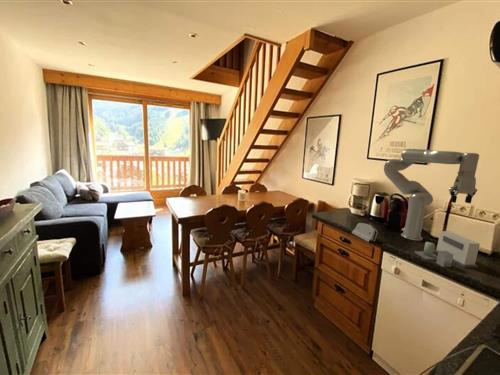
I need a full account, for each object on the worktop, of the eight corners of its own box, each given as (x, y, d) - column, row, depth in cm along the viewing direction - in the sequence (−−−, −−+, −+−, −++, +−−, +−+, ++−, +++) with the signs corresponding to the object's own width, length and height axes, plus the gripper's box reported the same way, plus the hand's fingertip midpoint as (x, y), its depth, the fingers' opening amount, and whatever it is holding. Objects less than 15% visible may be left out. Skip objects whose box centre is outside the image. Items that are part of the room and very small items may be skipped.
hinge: (351, 232, 173) (357, 219, 173) (356, 234, 175) (361, 221, 174) (368, 242, 158) (375, 227, 157) (374, 244, 159) (380, 229, 159)
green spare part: (427, 256, 139) (429, 245, 137) (421, 253, 143) (423, 241, 142) (434, 256, 139) (436, 245, 138) (428, 253, 144) (430, 241, 142)
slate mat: (414, 252, 145) (414, 251, 145) (428, 252, 146) (429, 251, 146) (426, 259, 137) (426, 258, 136) (441, 260, 137) (441, 258, 137)
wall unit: (433, 251, 149) (437, 230, 147) (445, 251, 150) (449, 230, 147) (464, 267, 129) (469, 244, 127) (477, 267, 130) (483, 244, 128)
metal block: (436, 262, 134) (438, 250, 132) (443, 262, 134) (446, 250, 133) (443, 266, 129) (445, 254, 128) (450, 267, 130) (453, 254, 128)
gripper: (458, 174, 139) (452, 203, 142) (486, 175, 141) (479, 204, 144) (447, 172, 147) (441, 200, 150) (473, 174, 148) (467, 201, 151)
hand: (460, 202), depth 147 cm, fingers open, 9 cm apart
